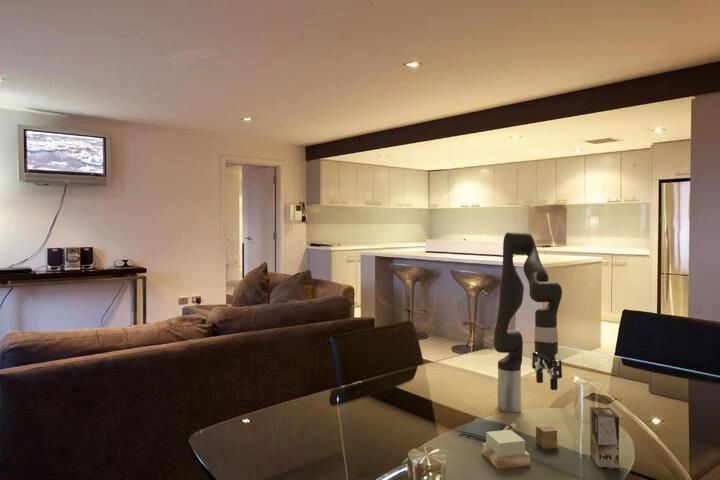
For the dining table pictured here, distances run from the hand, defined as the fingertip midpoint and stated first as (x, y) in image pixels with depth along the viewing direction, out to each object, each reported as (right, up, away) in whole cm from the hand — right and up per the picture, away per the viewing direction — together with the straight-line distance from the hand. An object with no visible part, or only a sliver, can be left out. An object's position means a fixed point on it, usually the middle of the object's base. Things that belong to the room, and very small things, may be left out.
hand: (546, 386), depth 165 cm
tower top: (-18, -17, -11) cm, 27 cm away
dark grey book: (-18, -21, +13) cm, 31 cm away
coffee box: (+13, -21, -13) cm, 28 cm away
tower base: (-18, -21, -10) cm, 29 cm away
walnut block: (0, -21, 0) cm, 21 cm away
